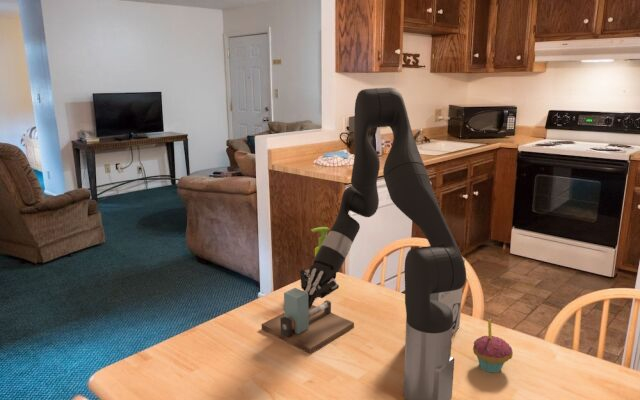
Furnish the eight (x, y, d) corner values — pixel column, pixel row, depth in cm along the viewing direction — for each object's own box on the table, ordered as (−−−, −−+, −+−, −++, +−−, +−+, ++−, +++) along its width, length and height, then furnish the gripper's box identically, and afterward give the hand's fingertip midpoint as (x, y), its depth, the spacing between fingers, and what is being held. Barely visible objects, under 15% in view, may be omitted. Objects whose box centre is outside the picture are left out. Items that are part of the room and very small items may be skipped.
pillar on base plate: (353, 327, 131) (354, 307, 129) (310, 354, 119) (309, 332, 117) (305, 306, 142) (305, 288, 141) (261, 329, 130) (260, 309, 129)
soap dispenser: (310, 285, 157) (308, 226, 152) (330, 282, 159) (329, 223, 154) (315, 292, 151) (314, 231, 146) (336, 289, 153) (336, 229, 148)
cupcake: (464, 360, 115) (467, 315, 112) (493, 353, 118) (497, 308, 115) (488, 381, 107) (492, 333, 104) (518, 373, 110) (524, 325, 107)
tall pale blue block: (308, 328, 127) (308, 293, 124) (298, 334, 124) (297, 298, 122) (295, 322, 130) (295, 287, 128) (285, 327, 127) (283, 292, 125)
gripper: (309, 239, 135) (278, 295, 130) (345, 250, 126) (314, 311, 121) (322, 252, 140) (293, 306, 135) (358, 263, 131) (329, 321, 126)
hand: (303, 308), depth 128 cm, fingers closed
